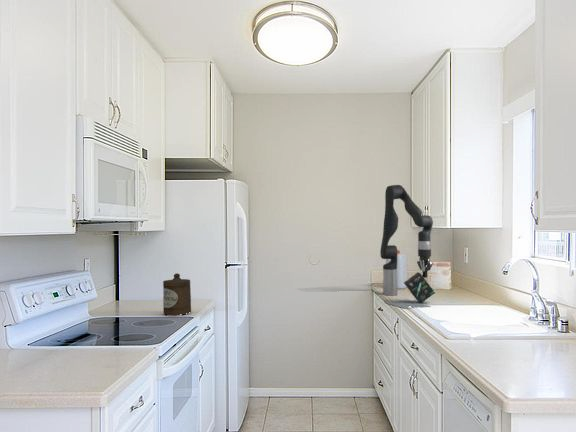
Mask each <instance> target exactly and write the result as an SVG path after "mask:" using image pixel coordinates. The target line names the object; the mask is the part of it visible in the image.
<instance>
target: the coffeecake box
mask: <svg viewBox="0 0 576 432" xmlns="http://www.w3.org/2000/svg"><path fill="white" fill-rule="evenodd" d="M430 262H431V263H433V265H432V267H431V269H430V270H429V271H427V279H428V280H427V281H428V282H427V283H428V284H429V285H430V287H431V288H432V289H433V290H445V291H446V290H448V291H449V290H452V264H451V263H452V262H451V261H430Z"/></svg>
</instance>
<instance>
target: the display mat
mask: <svg viewBox="0 0 576 432" xmlns="http://www.w3.org/2000/svg"><path fill="white" fill-rule="evenodd" d="M383 303H384V304H387V305H390V306H394V307H396V308H399V309H403V310H404V309H409V308H408V307H409V306H411V307H420V308H430V307H432V306H431V305H428V304H424V303H420V302H418V301H417V302H416V301H412V300H397V301H385V302H383Z"/></svg>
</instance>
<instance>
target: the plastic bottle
mask: <svg viewBox="0 0 576 432" xmlns="http://www.w3.org/2000/svg"><path fill="white" fill-rule="evenodd" d="M397 252H398V255H397V290H403V289H408V288H407V286H406V285H405V284H404V282H405V281H407V280H408V272H407V271H408V269H407V259H406V257H407V256H406V254H404V253H401V251H400V250H398V249H397ZM390 261H391V259H385V264H387V263H389V262H390Z"/></svg>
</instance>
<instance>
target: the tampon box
mask: <svg viewBox="0 0 576 432" xmlns="http://www.w3.org/2000/svg"><path fill="white" fill-rule="evenodd" d="M427 281H428V280H426V278H424V277H423V274H422V272H421V273H420V272H416V273H414V274H413V275H412V276H411V277H409V278H407V281H405V282H404V284H405V285H406V286H407V288H406V289H408V291H409V292H410V293H411V295H412V296H413V297H414V299H415V300H416V301H417V303H421V304H423V303H424V302H425V301H426V300H428V299H429V298H431V297H432V296H433V295H434V294H436V291H434V289H432V288H431V287H430V285H429V284H428V282H427Z"/></svg>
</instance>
